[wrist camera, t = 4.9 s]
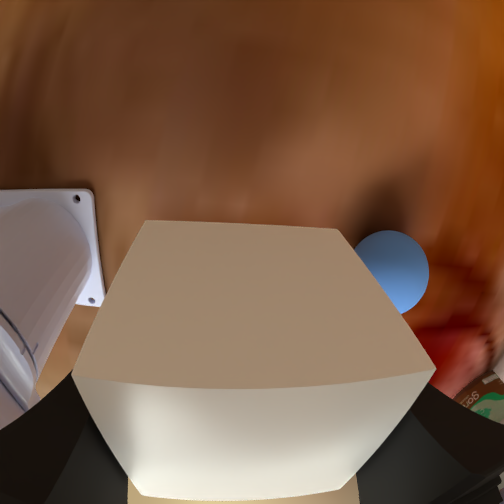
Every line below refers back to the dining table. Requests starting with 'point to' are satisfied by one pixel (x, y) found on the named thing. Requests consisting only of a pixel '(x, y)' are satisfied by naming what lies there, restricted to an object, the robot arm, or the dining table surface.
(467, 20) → the dining table surface
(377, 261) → the ball
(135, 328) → the white cube block
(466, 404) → the food container
